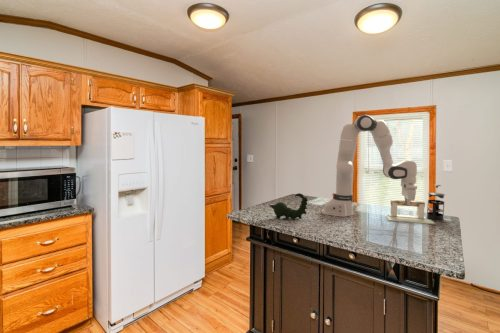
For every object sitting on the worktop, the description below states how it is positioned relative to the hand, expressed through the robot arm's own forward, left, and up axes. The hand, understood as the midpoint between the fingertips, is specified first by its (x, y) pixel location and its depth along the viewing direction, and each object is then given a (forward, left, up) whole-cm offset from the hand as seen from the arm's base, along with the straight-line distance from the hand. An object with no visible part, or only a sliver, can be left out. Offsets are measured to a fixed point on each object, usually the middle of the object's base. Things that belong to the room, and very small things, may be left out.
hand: (407, 204), depth 181 cm
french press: (+17, +1, -9) cm, 19 cm away
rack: (0, 0, -9) cm, 9 cm away
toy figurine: (-77, -27, -9) cm, 82 cm away
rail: (0, 0, -1) cm, 1 cm away
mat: (0, -9, -9) cm, 13 cm away
